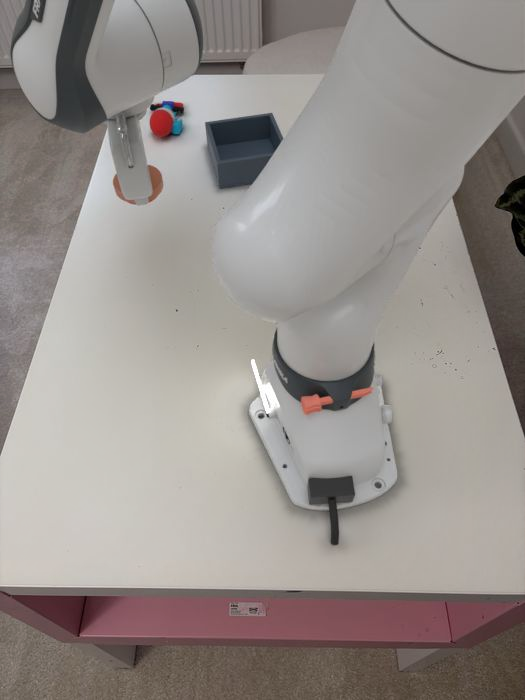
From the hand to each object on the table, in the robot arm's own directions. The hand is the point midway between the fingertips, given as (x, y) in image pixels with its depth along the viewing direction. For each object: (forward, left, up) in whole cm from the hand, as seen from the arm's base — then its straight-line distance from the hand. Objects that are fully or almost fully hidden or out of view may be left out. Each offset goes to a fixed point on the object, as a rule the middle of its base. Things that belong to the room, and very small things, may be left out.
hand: (138, 182), depth 73 cm
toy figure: (+42, -6, -18) cm, 46 cm away
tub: (+25, -20, -17) cm, 36 cm away
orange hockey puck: (0, 0, -2) cm, 2 cm away
